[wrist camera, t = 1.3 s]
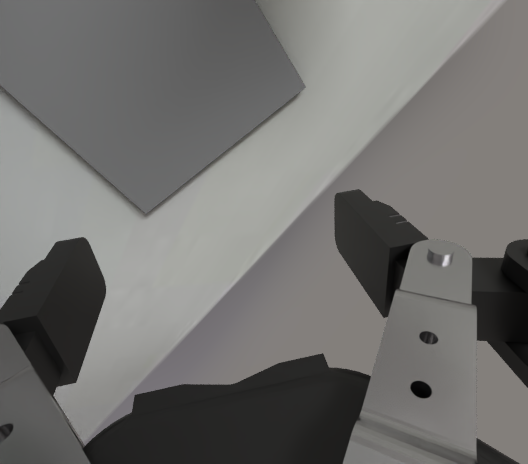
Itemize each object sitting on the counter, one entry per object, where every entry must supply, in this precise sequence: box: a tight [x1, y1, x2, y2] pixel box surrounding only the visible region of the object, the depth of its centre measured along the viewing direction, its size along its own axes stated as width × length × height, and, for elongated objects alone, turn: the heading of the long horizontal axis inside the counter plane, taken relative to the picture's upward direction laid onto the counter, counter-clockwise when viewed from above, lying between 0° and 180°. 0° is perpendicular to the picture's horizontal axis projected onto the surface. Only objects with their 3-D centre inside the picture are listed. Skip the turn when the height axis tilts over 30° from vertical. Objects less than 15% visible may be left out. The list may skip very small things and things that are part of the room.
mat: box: [0, 0, 305, 214], centre depth 26 cm, size 18×18×1 cm
